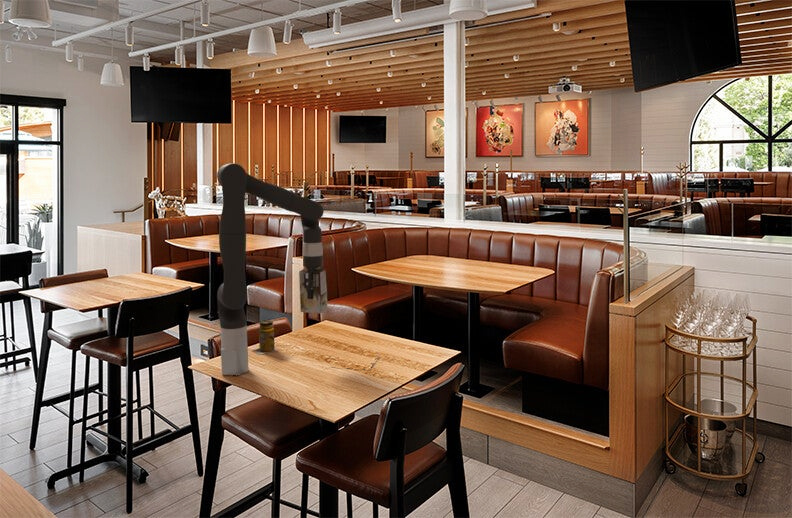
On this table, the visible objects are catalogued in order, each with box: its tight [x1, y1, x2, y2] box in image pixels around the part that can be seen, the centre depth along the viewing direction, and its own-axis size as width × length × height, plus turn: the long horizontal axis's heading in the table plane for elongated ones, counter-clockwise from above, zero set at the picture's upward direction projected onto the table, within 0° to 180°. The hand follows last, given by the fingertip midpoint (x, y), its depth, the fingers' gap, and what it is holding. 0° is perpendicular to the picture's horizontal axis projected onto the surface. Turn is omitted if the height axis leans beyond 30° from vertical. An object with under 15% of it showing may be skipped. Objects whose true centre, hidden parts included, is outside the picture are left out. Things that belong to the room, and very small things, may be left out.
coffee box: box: [298, 268, 329, 314], centre depth 220 cm, size 9×6×16 cm
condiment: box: [251, 320, 279, 355], centre depth 235 cm, size 7×8×12 cm
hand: (313, 296), depth 221 cm, fingers closed on coffee box, 6 cm apart
